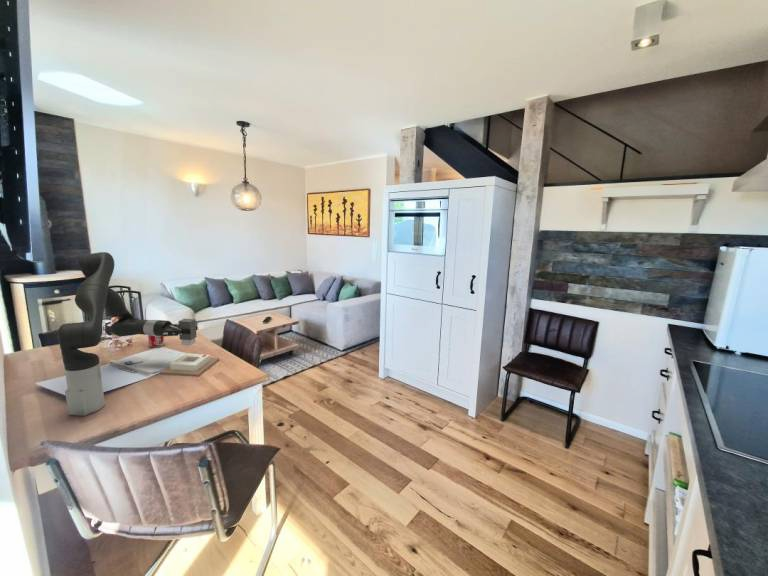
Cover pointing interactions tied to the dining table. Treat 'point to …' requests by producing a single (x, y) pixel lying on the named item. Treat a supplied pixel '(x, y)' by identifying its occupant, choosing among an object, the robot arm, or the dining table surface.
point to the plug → (188, 324)
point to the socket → (190, 365)
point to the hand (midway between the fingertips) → (193, 330)
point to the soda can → (156, 341)
